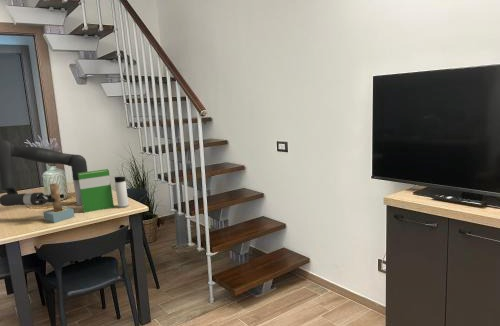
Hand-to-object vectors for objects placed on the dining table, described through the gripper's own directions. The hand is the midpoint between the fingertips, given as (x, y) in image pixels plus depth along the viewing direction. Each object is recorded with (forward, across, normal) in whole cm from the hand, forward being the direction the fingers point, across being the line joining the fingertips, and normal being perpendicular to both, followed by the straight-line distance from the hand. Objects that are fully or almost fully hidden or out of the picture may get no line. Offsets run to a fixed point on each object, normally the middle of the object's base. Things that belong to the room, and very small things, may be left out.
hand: (59, 198), depth 219 cm
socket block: (-2, 0, +12) cm, 13 cm away
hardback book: (+13, +18, +13) cm, 26 cm away
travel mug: (+28, +21, +13) cm, 37 cm away
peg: (-2, 0, +12) cm, 12 cm away
